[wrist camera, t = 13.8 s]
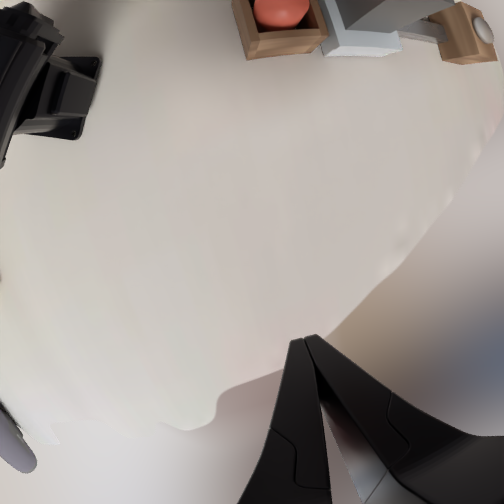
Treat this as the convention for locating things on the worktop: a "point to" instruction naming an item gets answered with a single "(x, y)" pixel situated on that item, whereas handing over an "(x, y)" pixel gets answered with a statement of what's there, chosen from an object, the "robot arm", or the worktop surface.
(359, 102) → the worktop surface
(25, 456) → the bluetooth speaker
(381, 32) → the plate
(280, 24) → the gauge button
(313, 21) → the cabinet
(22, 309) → the worktop surface
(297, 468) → the robot arm
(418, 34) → the handrail
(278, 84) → the worktop surface
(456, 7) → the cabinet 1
